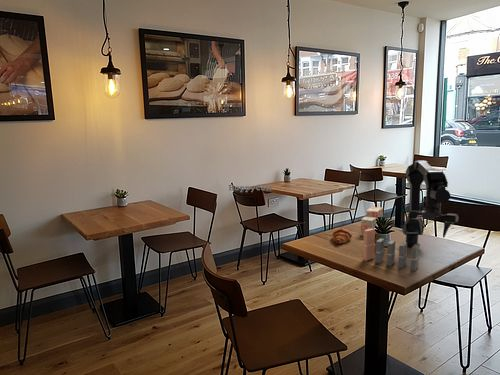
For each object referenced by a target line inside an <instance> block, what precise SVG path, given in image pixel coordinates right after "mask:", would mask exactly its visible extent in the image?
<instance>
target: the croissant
mask: <svg viewBox="0 0 500 375" xmlns="http://www.w3.org/2000/svg"><path fill="white" fill-rule="evenodd" d="M352 237H353V235H352V233H351V232H350V231H349V230H347V229H346V228H342V227H339V228H338V227H337V228H336V229H334V230H333V231H332V237H331V238H332V240H333V241H334V242H335V243H336V244H345V243H347V242H349V241H350V239H352Z"/></svg>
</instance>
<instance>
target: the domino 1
mask: <svg viewBox="0 0 500 375" xmlns="http://www.w3.org/2000/svg"><path fill="white" fill-rule="evenodd" d="M375 235H376V233H375V229H372V228H371V229H367V230H364V236H363V244H362V245H363V251H362V252H363V253H362V260H363V261H366V262H367V261H370V260H373V259H374V258H375Z"/></svg>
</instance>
